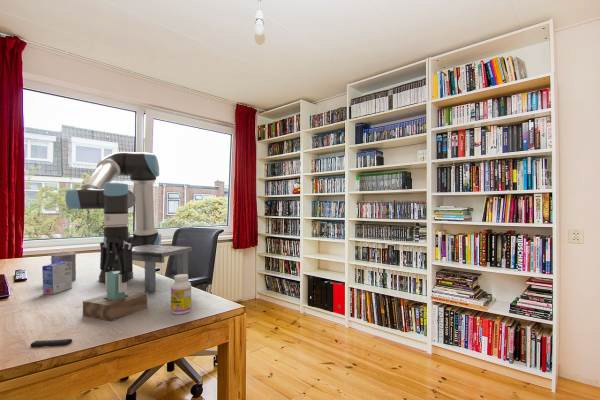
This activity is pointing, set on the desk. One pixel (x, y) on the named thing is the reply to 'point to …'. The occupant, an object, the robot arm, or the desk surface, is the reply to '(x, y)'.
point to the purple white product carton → (67, 260)
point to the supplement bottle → (180, 295)
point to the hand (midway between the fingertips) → (116, 290)
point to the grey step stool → (159, 260)
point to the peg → (113, 286)
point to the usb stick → (51, 343)
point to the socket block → (114, 306)
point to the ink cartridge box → (57, 276)
